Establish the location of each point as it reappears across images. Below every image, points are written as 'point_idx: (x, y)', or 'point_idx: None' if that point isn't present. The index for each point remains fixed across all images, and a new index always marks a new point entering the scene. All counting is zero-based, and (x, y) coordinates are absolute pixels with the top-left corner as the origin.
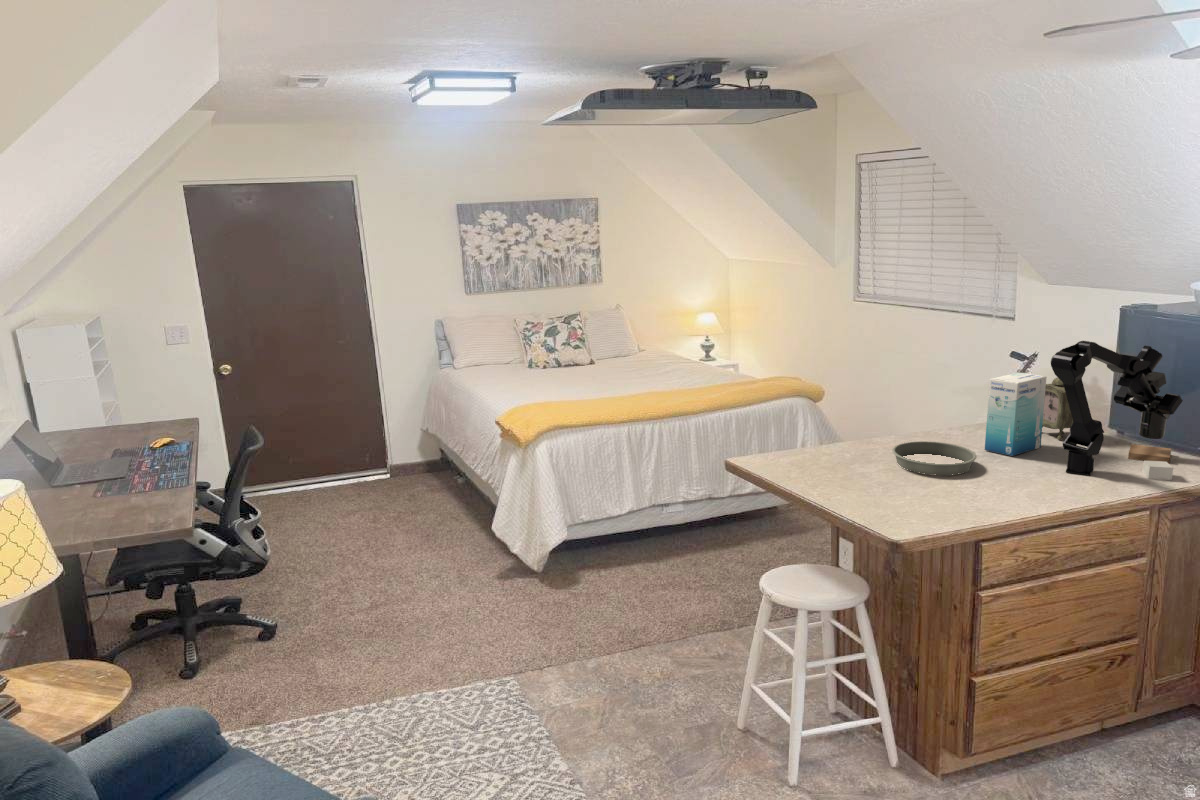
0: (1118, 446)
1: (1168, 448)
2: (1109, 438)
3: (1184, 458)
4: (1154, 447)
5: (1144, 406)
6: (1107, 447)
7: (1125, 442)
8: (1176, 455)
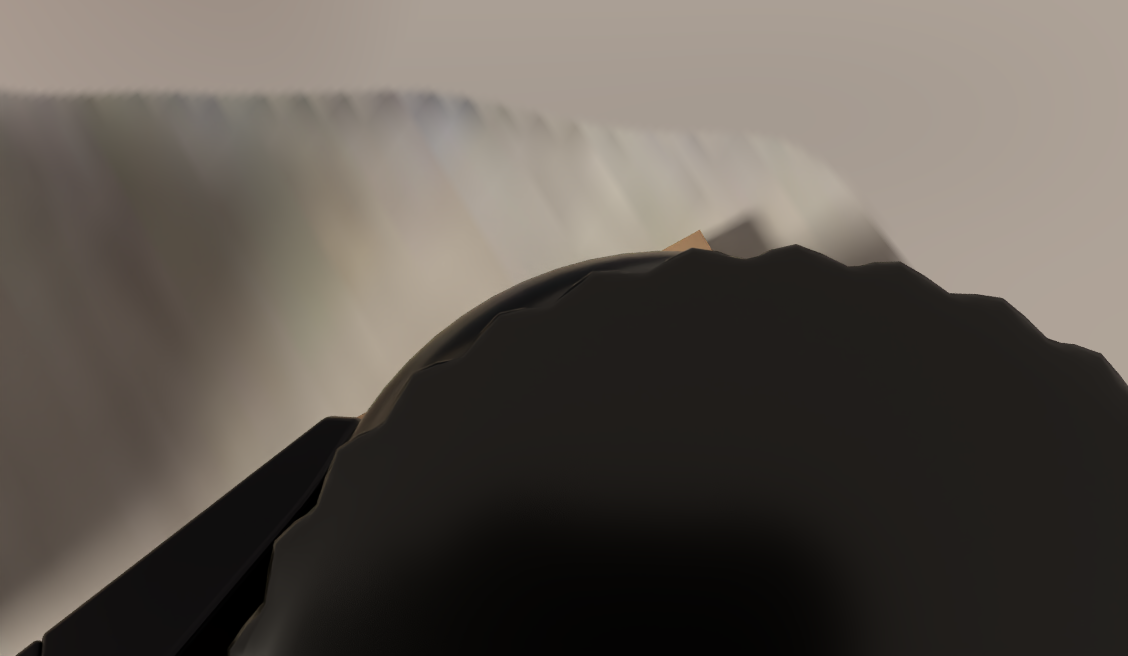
0: (224, 394)
1: (676, 245)
2: (18, 193)
3: (835, 252)
4: None
5: (252, 593)
6: (175, 530)
7: (189, 197)
8: (730, 217)
